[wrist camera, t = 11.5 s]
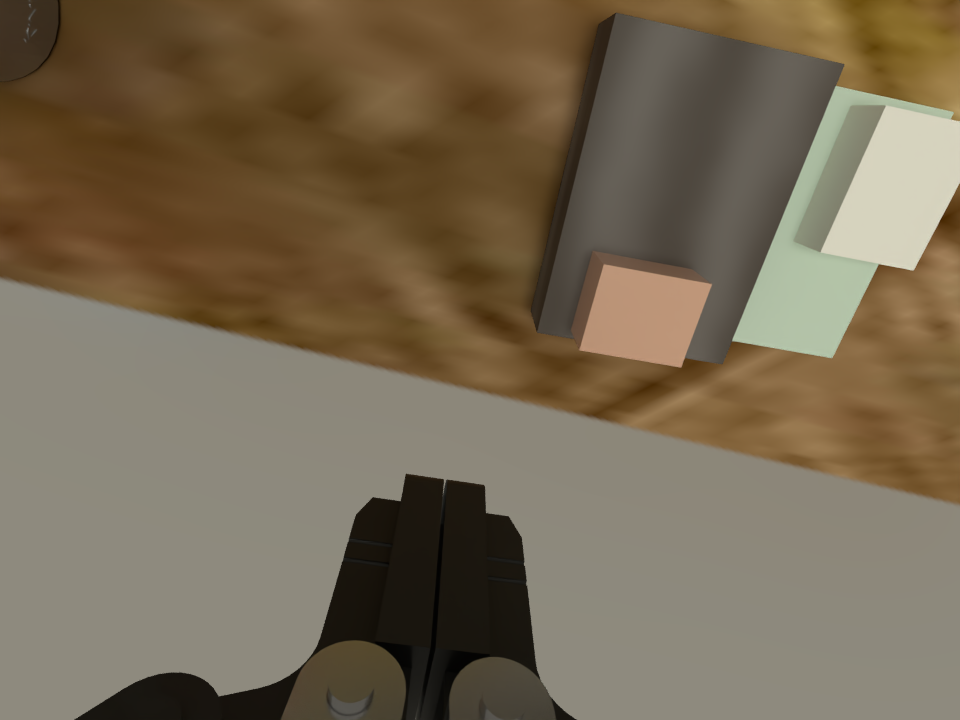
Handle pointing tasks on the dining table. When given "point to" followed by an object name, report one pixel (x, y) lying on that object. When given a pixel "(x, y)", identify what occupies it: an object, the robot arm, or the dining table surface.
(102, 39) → the dining table surface
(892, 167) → the cream tile
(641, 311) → the salmon pink block
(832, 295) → the mat
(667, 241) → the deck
